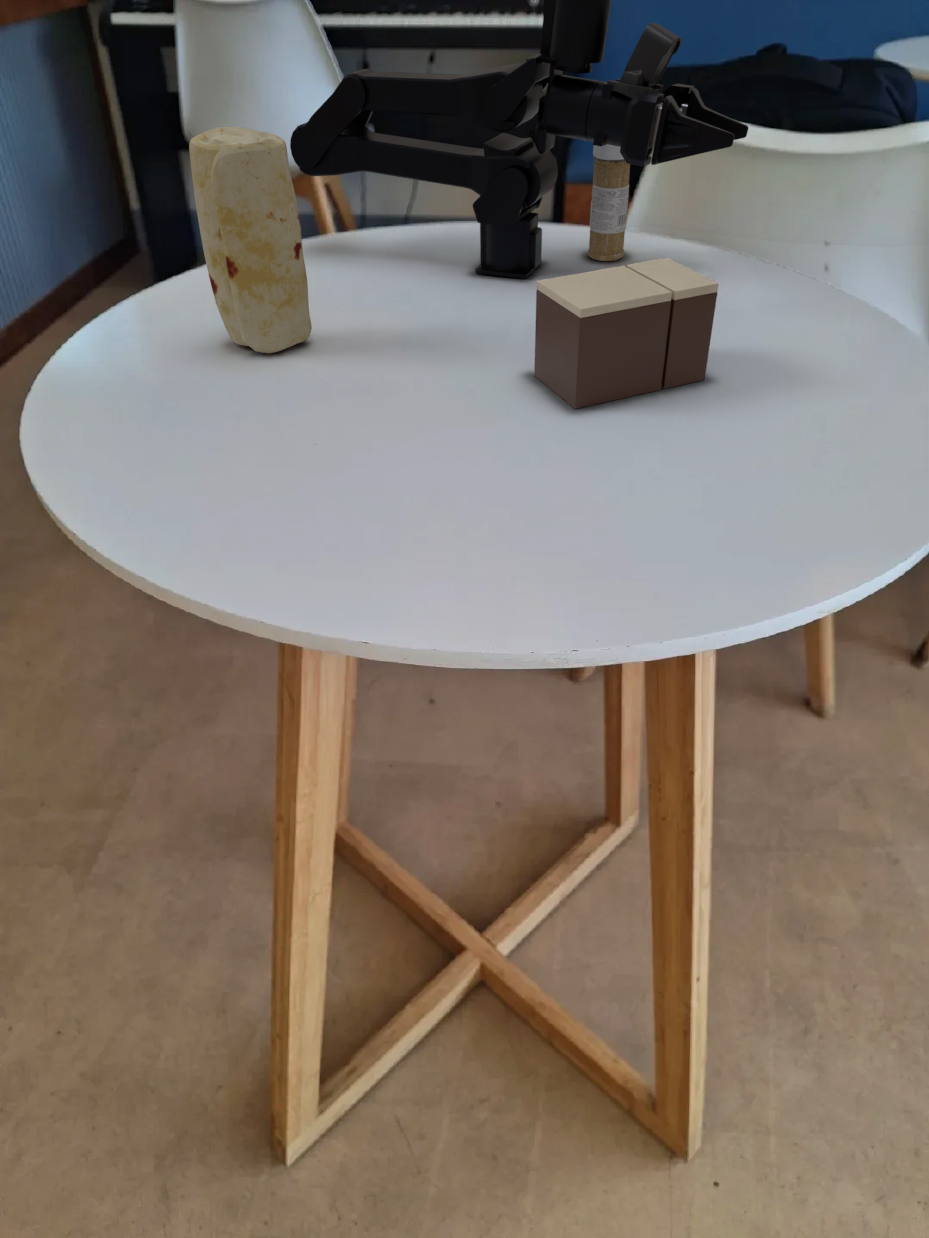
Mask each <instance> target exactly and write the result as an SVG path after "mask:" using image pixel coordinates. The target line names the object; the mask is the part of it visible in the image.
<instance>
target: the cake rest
mask: <svg viewBox="0 0 929 1238" xmlns="http://www.w3.org/2000/svg"><path fill="white" fill-rule="evenodd" d="M535 293H536V295H535V296H536V297H535V301H536V302H535V331H534V332H535V333H534V334H535V335H534V336H535V337H534V338H535V339H534V371H533V372H534V373H533V374H534V377H535V378H536V379H538V380H539V381H540V382H541V383H542V384H544V385H545V386H546V387H547V388H549V389H550V390H551V391H553V392H554V393H555V394H556V395H558V396H559V398H561V399H562V400H564V401H565V402H566V403H567V404H569V405H570V406H571V407H572V408H573V409H575V410H577V409H581V408H585V407H590V406H596V405H599V404H604V403H608V402H613V401H618V400H621V399H626V398H629V397H634V396H639V395H644V394H647V393H651V392H656V391H657V392H658V391H661V390H662V387H661V385H662V376H663V368H664V359H665V350H666V342H667V333H668V324H669V316H670V307H671V297H672V292H671V291H669V290H667V289H666V288H664V287H662V286H660V285H658V284H656V283H654V282H653V281H651V280H649V279H647V278H645V277H643V276H642V275H640V274H638V273H636V272H634V271H632V270H630V269H629V268H627V267H626V266H625V265H619V266H612V267H607V268H601V269H596V270H590V271H585V272H579V273H573V274H567V275H561V276H556V277H550V278H545V279H539V280H536V291H535Z"/></svg>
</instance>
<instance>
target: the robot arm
mask: <svg viewBox="0 0 929 1238" xmlns="http://www.w3.org/2000/svg"><path fill="white" fill-rule="evenodd" d="M542 1H543V2H542V15H543V17H542V28H541V38H540V47H539V53H537V54H535V55H532V56H530V57H528V58H526V60H525V62H524V63H520V62H519V63H512V64H506V65H502V66H496V67H491V68H487V69H483V70H478V71H474V72H468V73H463V74H458V73H456V74H455V73H431V72H429V73H427V72H405V71H404V72H403V71H380V70H379V71H376V70H374V69H371V68H363V69H359V70H357V71H354V72H351V73H348V74H346V75H345V76H343V78H342V79H341V81H340V82H339V84H338V85H337V86H336V88H335V89H334V91H333V92H332V93H331V95H329V97H328V98H327V99H326V100H325V101H324V102H323V103H322V104H321V105H320V106H319V107H318V108H317V110H316V111H315V112H314V113H313V114H312V115H311V116H310V118H309V119H308V121H306V122H304V123H301V124H298V125H297V126H296V128H295V129H294V130H293V131H292V133H291V136H290V140H289V141H290V143H289V148H290V153H291V157H292V159H293V161H294V163H295V164H296V166H297V167H298V169H299V171H300V172H301V173H303V174H304V175H307V176H309V177H328V176H338V175H346V174H351V173H353V174H354V173H359V172H366V173H372V174H379V175H384V176H391V177H397V178H402V179H403V178H404V179H408V180H415V181H420V182H421V181H422V182H428V183H433V184H440V185H445V186H446V185H447V186H452V187H457V188H463V189H464V188H465V189H468V190H471V191H473V192H474V193H475V194H477V195H478V196H479V197H478V198H477V199H476V200H475V201H474V202H473V203H472V209H473V212H474V215H475V219H476V222H477V223H478V224H479V238H480V239H479V245H480V246H479V247H480V249H479V250H480V251H479V252H480V253H479V254H480V255H479V256H480V264H479V265H477V267H476V268H475V273H476V274H479V275H480V274H481V275H488V276H489V275H490V276H498V277H508V278H518V279H526V278H528V277H529V276H530V275H531V274H532V273H533V272H534V271H535V270H536V269H537V268H538V267H539V266H540V265H541V264H542V248H543V245H542V244H543V242H542V241H543V228H541V227H539V213H538V212H534V211H535V210H536V209H538V208H540V206H541V205H542V201H543V199H544V196H546V195H547V194H548V193H549V192H550V191H551V190H552V189H553V188H554V186H555V185H556V183H557V180H558V176H559V175H558V174H559V170H558V163H557V160H556V156H554V154H553V153H552V152H551V150H552V148H554V147H555V143H556V136H559V137H563V138H569V139H575V140H580V141H585V142H591V143H592V145H593V146H594V145H596V146H601V147H602V146H605V145H607V144H608V145H613V146H619V147H621V148H620V153H621V155H622V156H623V158H624V160H625V161H626V163H627V164H630V165H633V166H639V167H644V168H645V167H647V166H648V165H650V164H651V166H655V165H659V164H663V163H667V162H672V161H676V160H679V159H684V158H688V157H692V156H697V155H702V154H705V153H710V152H714V151H718V150H723V149H727V148H731V147H732V146H733V144H734V141H738V140H740V139H745V138H746V137H747V136H748V133H749V126H748V125H747V124H744V123H742V122H740V121H738V120H735V119H733V118H731V117H729V116H727V115H725V114H723V113H721V112H718V111H715V110H714V109H711V108H709V107H708V106H706V105H705V104H704V102H703V99H702V97H701V96H700V91H699V90H698V89H697V87H695V85H689V84H683V83H675V84H672V85H670V86H669V87H667V88H666V89H665V90H664V91H663V89H664V84H659V82H660V80H661V78H662V77H663V75H664V73H665V72H666V69H667V68H668V66H669V64H670V62H671V60H672V58H673V57H674V55H676V54H677V52H678V51H679V50H680V47H681V45H682V42H683V39H682V38H681V37H680V36H678V35H677V34H675V33H673V32H672V30H670V29H667V28H665V27H664V26H662V25H661V24H659V23H657V22H649V23H648V24H647V25H646V26H645V28H644V29H643V31H642V33H641V35H640V37H639V39H638V41H637V43H636V45H635V47H634V49H633V51H632V52H631V54H630V57H629V58H628V60H627V63H626V65H625V67H624V70H623V72H622V75H621V76H620V78H615V80H613V79H610V80H607V81H603V80H597V79H592V78H591V79H590V78H585V77H577V76H573V75H566V74H563V72H565V73H571V74H591V73H592V72H593V64H598V63H602V62H604V56H605V50H606V42H607V35H608V28H609V22H610V15H611V6H612V0H542ZM545 89H546V92H545V95H544V91H545ZM375 112H376V113H377V112H378V113H393V114H394V113H395V114H397V113H398V114H412V115H413V114H416V115H433V116H434V115H435V116H451V117H455V118H459V119H462V120H464V121H465V122H468V123H469V124H471V125H473V126H478V127H481V128H485V129H488V130H493V131H496V132H502V133H500V134H498V135H496V136H494V137H493V138H491V139H489V140H488V141H485V142H484V143H483V144H482V145H483V147H482V148H479V147H472V146H465V145H457V144H453V143H452V144H451V143H444V142H438V141H431V140H424V139H416V138H412V137H404V136H398V135H392V134H385V133H380V132H379V133H378V132H376V131H375V132H374V131H373V130H371V129H369V128H368V127H367V126H368V124H369V122H370V120H371V117H372V115H373V113H375ZM536 115H537V119H536V125H535V127H534V128H533V129H532V130H530V131H529V132H528V137H519V136H516V135H514V134H510V133H506V132H509V131H512V130H513V129H516V128H518V127H519V126H521V125H522V124H524V123H526V122H528V121H529V120H532V119H533V118H534V117H535V116H536ZM650 149H653V150H652V155H651V156H649V155H648V151H649V150H650Z"/></svg>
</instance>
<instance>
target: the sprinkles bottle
mask: <svg viewBox="0 0 929 1238" xmlns="http://www.w3.org/2000/svg"><path fill="white" fill-rule="evenodd" d="M620 148H621V147H619V146H613V145H608V144H607V145H605V146H602V147H601V146H596V145H593V149H592V155H593V160H594V161H593V175H592V191H591V202H590V216H589V242H588V244H589V245H588V250H587V255H588V256H589V258H591V259H593V260H597V261H602V262H611V261H618V260H620V259H622V258H623V257H624V254H625V250H624V248H625V247H624V246H625V233H626V229H627V217H628V208H629V207H628V205H629V194H630V173H631V172H630V171H631V170H630V169H631V164H627V163H626V161H625V160H624V158H623V156H622V155H621V153H620Z"/></svg>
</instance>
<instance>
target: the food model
mask: <svg viewBox="0 0 929 1238" xmlns="http://www.w3.org/2000/svg"><path fill="white" fill-rule="evenodd" d="M188 144H189V145H188V150H189V160H190V170H191V171H190V172H191V179H192V186H193V193H194V202H195V209H196V214H197V215H196V216H197V219H198V220H197V222H198V227H199V233H200V238H201V245H202V249H203V253H204V260H205V264H206V270H207V275H208V277H209V282H210V286H211V289H212V293H213V298H214V301H215V302H214V303H215V305H216V308H217V310H218V313H219V317H220V318H221V321H222V323H223V325H224V328H225V330H226V332H227V334H228V336H229V338H230V340H231V341H232V342H233V343H234V344H236V345H241V346H245V347H250V348H251V349H252V350H253V351H254V352H258V353H263V354H269V355H271V354H273V353H274V354H275V353H277V352H281V351H283V350H285V349H288V348H290V347H292V346H295V345H298V344H301V343H303V342H305V341H307V340H308V338H309V337H310V335H311V333H312V330H313V326H312V320H311V315H310V314H311V313H310V305H309V304H310V303H309V285H308V275H307V269H306V262H305V255H304V248H303V247H304V246H303V237H302V228H301V227H302V226H301V220H300V213H299V208H298V207H299V206H298V202H297V197H296V192H295V188H294V184H293V180H292V174H291V170H290V164H289V156H288V148H287V142H286V141H285V140H284V138H282V137H281V136H279V135H277V134H274V133H272V132H269V131H262V130H256V129H253V128H250V127H246V126H218V127H214V128H212V129H209V130H205V131H204V132H202V133H199V134H198V135H195V136H194V137H192V138H191V139H190V141H189V143H188Z"/></svg>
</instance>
